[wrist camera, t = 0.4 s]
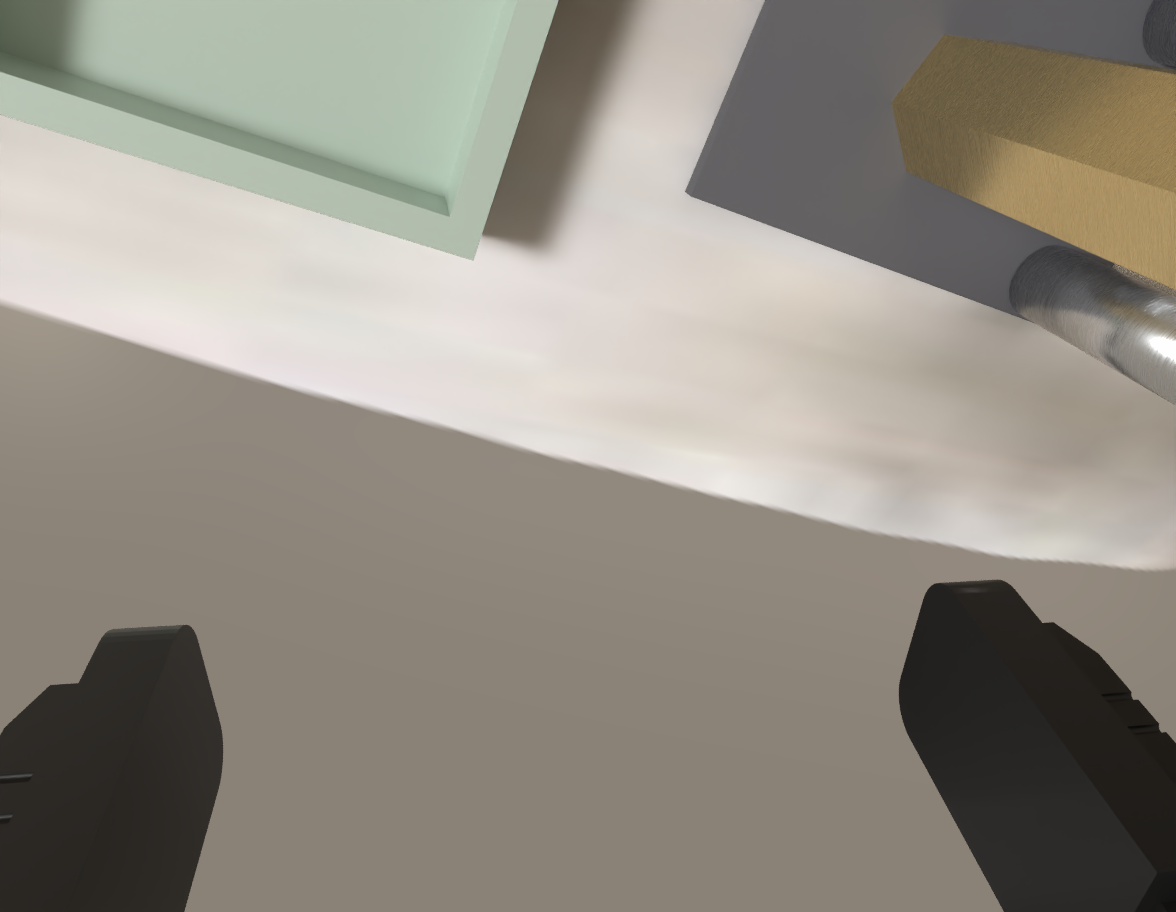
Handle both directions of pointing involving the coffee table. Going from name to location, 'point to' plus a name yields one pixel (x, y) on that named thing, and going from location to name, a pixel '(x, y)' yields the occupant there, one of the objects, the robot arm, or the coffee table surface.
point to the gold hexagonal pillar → (1051, 144)
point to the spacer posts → (1108, 282)
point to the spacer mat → (882, 130)
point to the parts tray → (293, 97)
